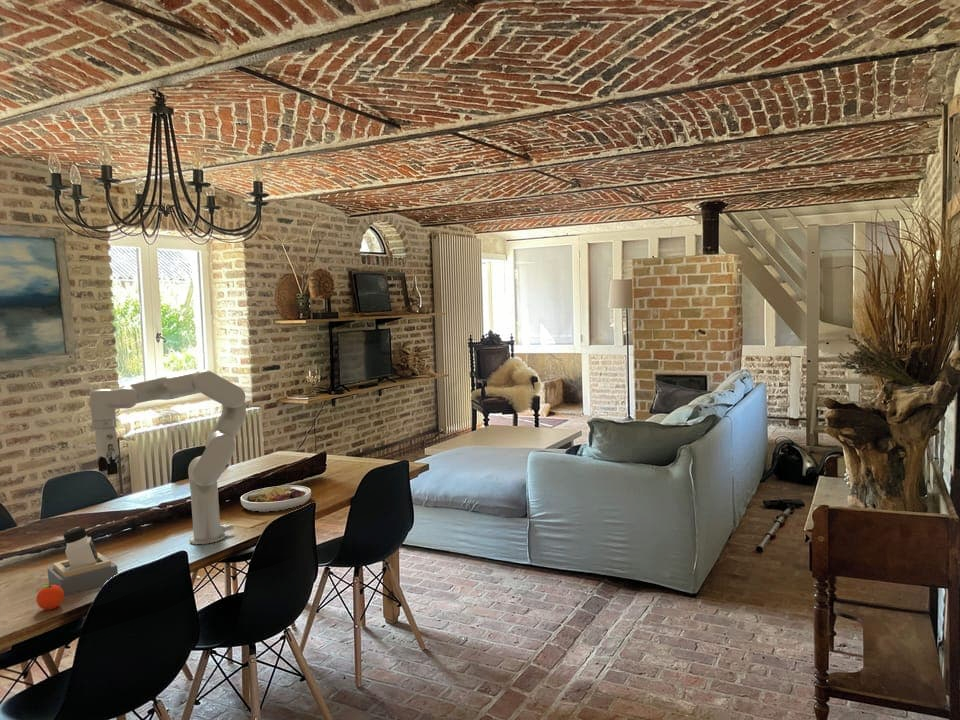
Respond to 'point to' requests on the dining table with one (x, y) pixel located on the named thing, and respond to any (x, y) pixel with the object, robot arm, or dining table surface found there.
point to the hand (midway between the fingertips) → (108, 472)
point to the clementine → (50, 597)
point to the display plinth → (81, 575)
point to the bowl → (275, 498)
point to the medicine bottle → (79, 548)
